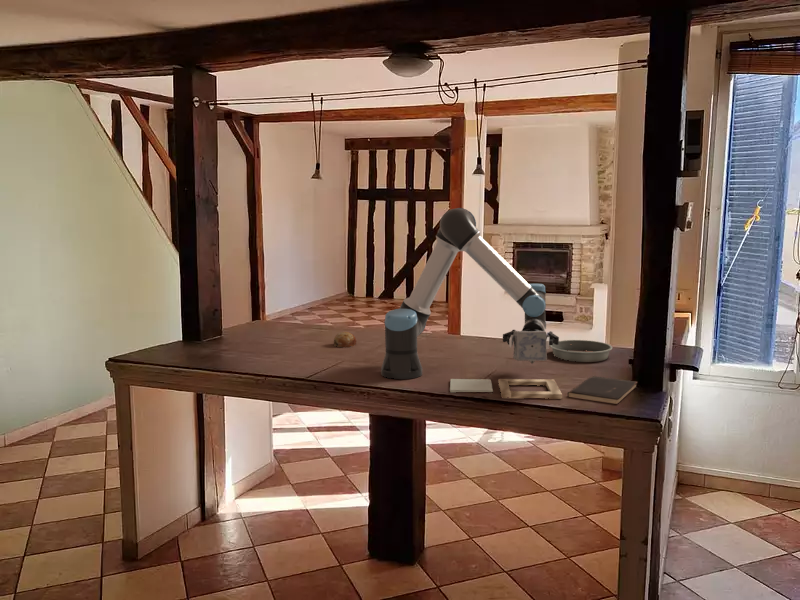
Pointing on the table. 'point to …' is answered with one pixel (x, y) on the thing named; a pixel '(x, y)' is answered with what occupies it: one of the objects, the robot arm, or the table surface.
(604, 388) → the hardcover book
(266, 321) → the table surface
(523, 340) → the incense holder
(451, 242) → the robot arm
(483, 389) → the sage tile
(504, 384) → the frame
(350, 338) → the bread roll
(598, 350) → the cake pan
